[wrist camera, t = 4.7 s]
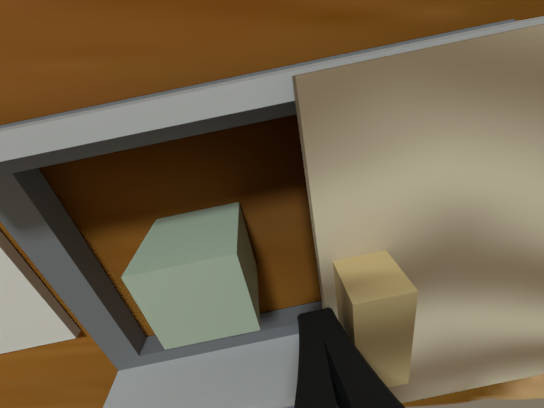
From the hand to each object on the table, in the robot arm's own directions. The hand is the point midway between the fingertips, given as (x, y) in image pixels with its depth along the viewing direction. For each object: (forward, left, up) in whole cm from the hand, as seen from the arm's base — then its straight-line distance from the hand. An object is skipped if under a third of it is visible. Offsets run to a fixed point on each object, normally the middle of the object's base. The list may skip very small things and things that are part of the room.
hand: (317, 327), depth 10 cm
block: (0, +5, -7) cm, 9 cm away
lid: (0, -7, -1) cm, 7 cm away
